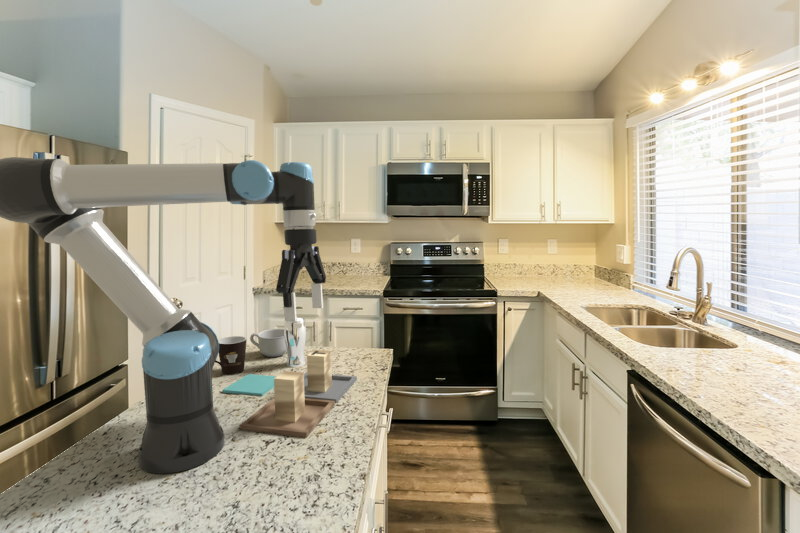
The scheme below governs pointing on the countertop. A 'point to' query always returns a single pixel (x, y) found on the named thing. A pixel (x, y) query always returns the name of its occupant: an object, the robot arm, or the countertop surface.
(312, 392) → the grey tray
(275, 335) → the teacup
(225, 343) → the coffee mug
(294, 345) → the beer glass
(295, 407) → the plain block
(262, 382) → the teal mat
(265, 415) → the walnut tray
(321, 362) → the letter block
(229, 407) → the countertop surface
